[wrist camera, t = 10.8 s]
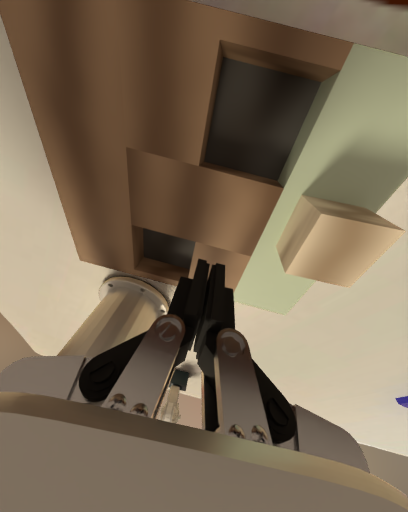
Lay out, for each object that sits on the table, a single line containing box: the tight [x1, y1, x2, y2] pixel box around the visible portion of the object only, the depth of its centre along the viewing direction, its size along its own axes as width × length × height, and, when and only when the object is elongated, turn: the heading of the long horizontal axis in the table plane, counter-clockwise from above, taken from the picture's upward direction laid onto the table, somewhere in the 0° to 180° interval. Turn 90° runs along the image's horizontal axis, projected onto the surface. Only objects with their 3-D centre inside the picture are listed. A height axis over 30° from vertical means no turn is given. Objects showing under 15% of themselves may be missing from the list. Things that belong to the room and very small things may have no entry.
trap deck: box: [0, 0, 354, 292], centre depth 17 cm, size 20×22×3 cm
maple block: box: [276, 195, 406, 288], centre depth 13 cm, size 5×5×4 cm
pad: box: [234, 43, 408, 315], centre depth 17 cm, size 8×22×3 cm, turn 168°
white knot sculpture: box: [160, 370, 189, 424], centre depth 44 cm, size 6×8×11 cm
